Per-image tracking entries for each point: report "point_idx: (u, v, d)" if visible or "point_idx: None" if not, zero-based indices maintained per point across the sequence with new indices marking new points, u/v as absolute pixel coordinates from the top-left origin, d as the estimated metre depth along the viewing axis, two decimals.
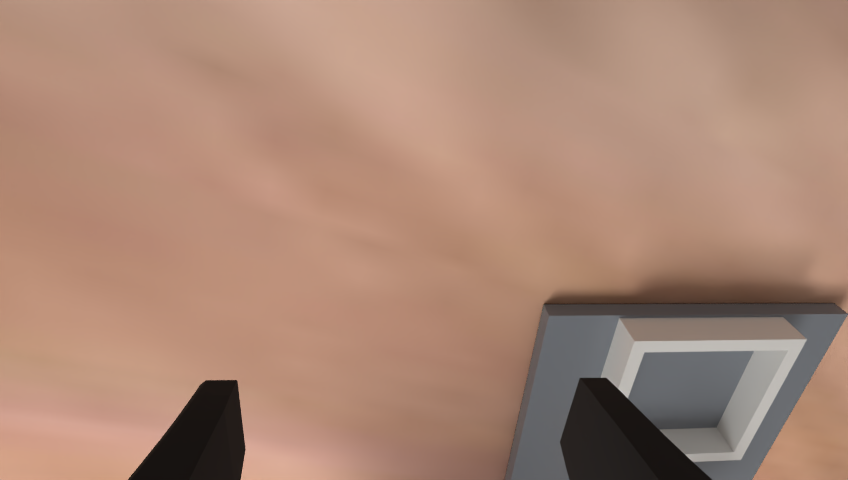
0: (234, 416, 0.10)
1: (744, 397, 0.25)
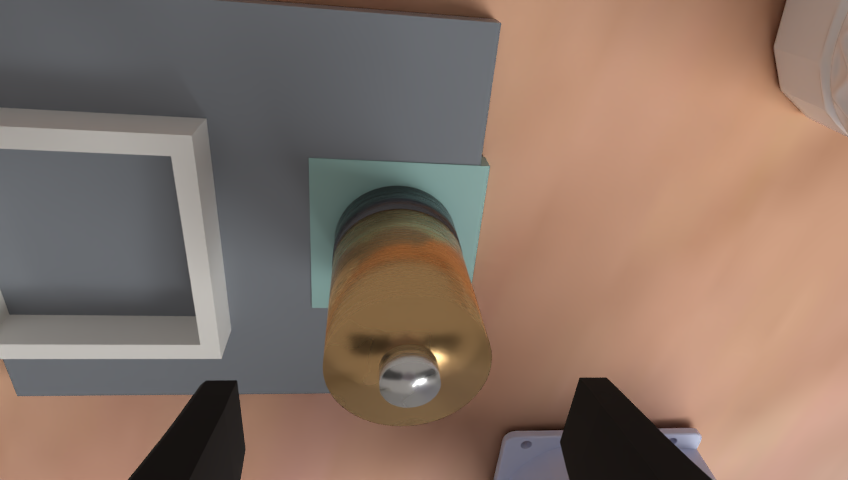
0: (234, 416, 0.10)
1: None
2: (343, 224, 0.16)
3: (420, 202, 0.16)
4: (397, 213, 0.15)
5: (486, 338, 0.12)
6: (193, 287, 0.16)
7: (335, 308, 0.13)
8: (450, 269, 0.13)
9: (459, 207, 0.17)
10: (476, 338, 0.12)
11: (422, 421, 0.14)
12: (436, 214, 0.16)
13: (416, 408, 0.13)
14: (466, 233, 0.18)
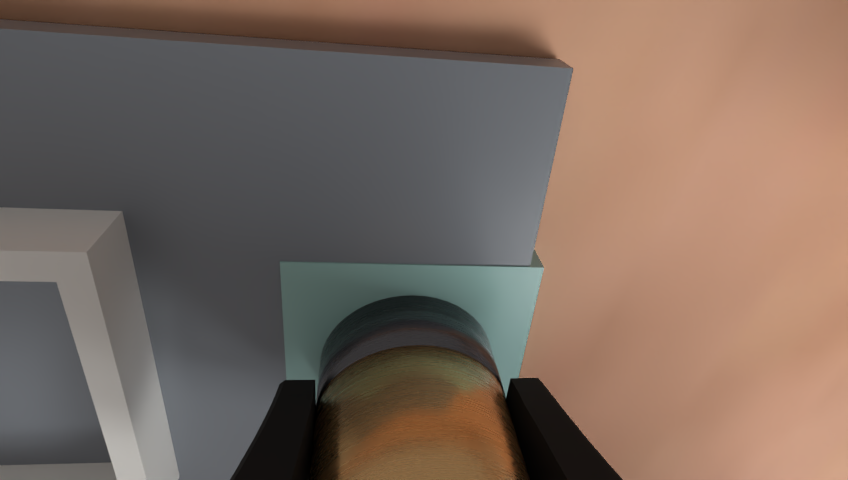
0: (313, 415, 0.10)
1: None
2: (331, 358, 0.11)
3: (444, 327, 0.11)
4: (412, 356, 0.10)
5: None
6: (111, 451, 0.11)
7: None
8: (502, 479, 0.08)
9: (498, 321, 0.12)
10: None
11: None
12: (469, 347, 0.11)
13: None
14: (506, 353, 0.13)
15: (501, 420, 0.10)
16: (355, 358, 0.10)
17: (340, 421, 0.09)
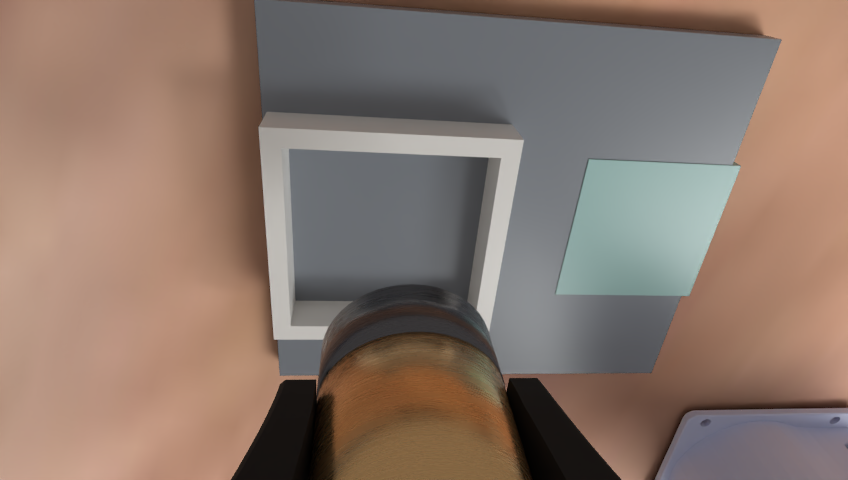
0: (314, 415, 0.10)
1: None
2: (332, 345, 0.11)
3: (444, 315, 0.11)
4: (412, 342, 0.10)
5: None
6: (484, 274, 0.18)
7: None
8: (501, 459, 0.08)
9: (705, 203, 0.19)
10: None
11: None
12: (468, 335, 0.11)
13: None
14: (705, 226, 0.20)
15: (500, 405, 0.10)
16: (356, 344, 0.10)
17: (341, 405, 0.09)
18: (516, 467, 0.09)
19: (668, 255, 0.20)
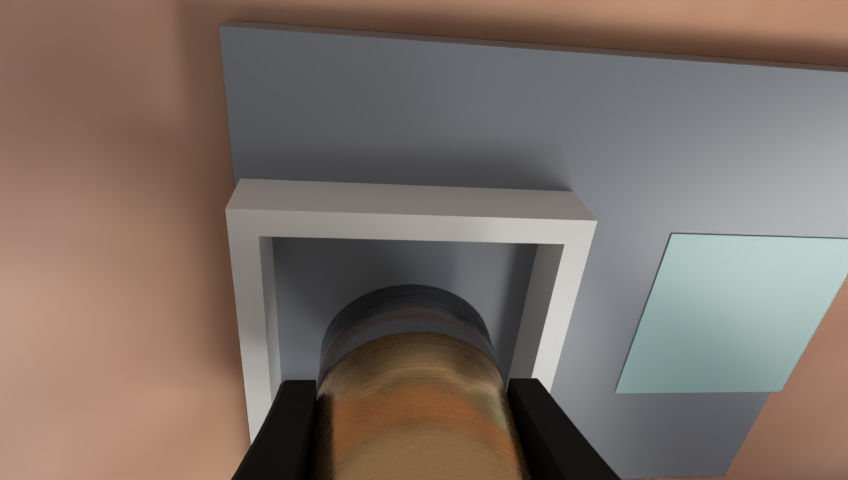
0: (314, 415, 0.10)
1: None
2: (332, 345, 0.11)
3: (444, 315, 0.11)
4: (412, 341, 0.10)
5: None
6: None
7: None
8: (500, 459, 0.08)
9: (816, 284, 0.15)
10: None
11: None
12: (468, 335, 0.11)
13: None
14: (812, 312, 0.15)
15: (499, 405, 0.10)
16: (356, 344, 0.10)
17: (341, 404, 0.09)
18: (515, 467, 0.09)
19: (761, 346, 0.16)
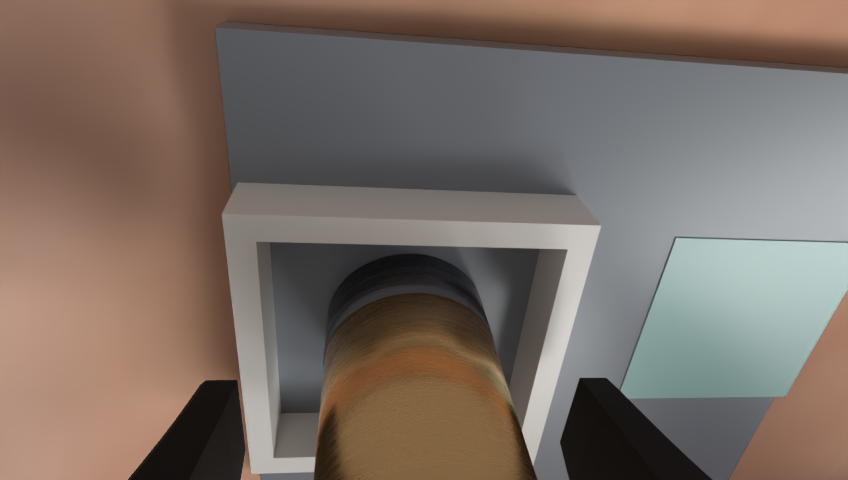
0: (234, 416, 0.10)
1: None
2: (338, 307, 0.12)
3: (440, 280, 0.12)
4: (411, 301, 0.11)
5: None
6: (533, 392, 0.14)
7: (325, 461, 0.09)
8: (489, 398, 0.09)
9: (821, 288, 0.15)
10: None
11: None
12: (461, 297, 0.12)
13: None
14: (817, 316, 0.15)
15: (489, 355, 0.11)
16: (360, 304, 0.12)
17: (347, 355, 0.11)
18: (502, 405, 0.10)
19: (765, 350, 0.16)
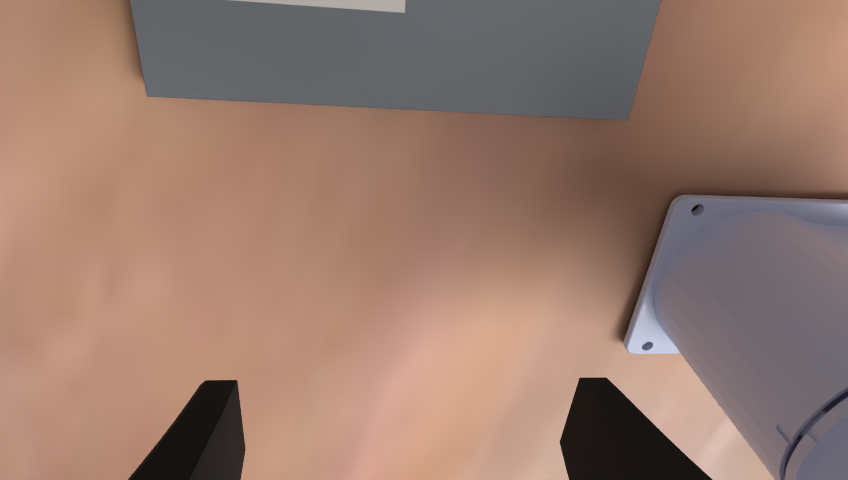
0: (234, 416, 0.10)
1: None
2: None
3: None
4: None
5: None
6: None
7: None
8: None
9: None
10: None
11: None
12: None
13: None
14: None
15: None
16: None
17: None
18: None
19: None
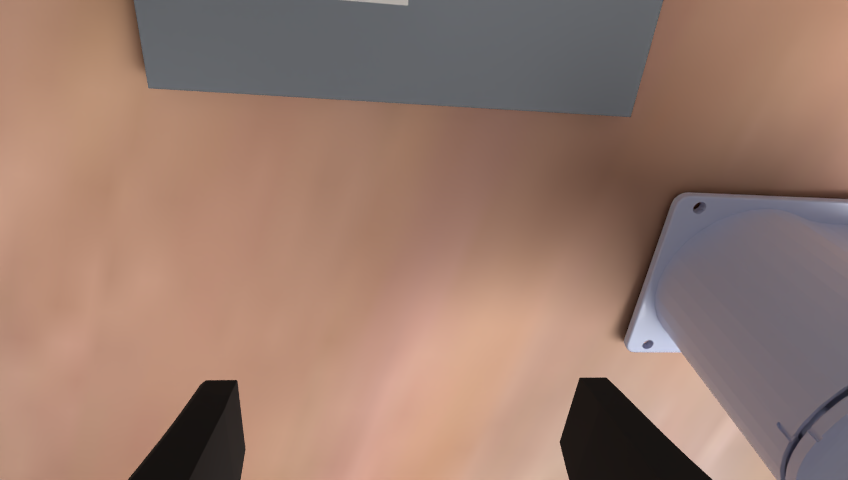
0: (234, 416, 0.10)
1: None
2: None
3: None
4: None
5: None
6: None
7: None
8: None
9: None
10: None
11: None
12: None
13: None
14: None
15: None
16: None
17: None
18: None
19: None
